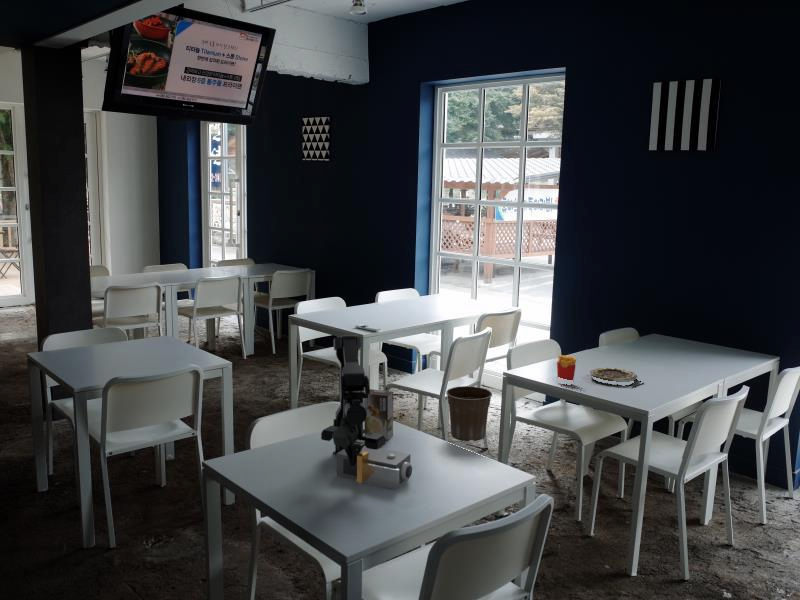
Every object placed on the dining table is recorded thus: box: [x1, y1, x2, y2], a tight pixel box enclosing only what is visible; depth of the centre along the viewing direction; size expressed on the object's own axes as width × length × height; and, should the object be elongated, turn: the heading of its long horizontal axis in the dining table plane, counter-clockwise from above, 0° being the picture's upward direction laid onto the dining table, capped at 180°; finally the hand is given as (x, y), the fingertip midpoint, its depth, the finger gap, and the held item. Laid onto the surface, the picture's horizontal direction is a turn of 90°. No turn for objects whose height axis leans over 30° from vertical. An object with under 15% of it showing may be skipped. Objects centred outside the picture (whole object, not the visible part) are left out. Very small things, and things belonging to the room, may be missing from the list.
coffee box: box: [363, 388, 394, 441], centre depth 251 cm, size 9×6×16 cm
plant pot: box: [446, 385, 493, 442], centre depth 253 cm, size 16×16×16 cm
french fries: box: [556, 354, 577, 381], centre depth 327 cm, size 9×4×13 cm, turn 43°
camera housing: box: [335, 446, 413, 486], centre depth 215 cm, size 22×10×8 cm, turn 65°
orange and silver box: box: [356, 452, 400, 491], centre depth 206 cm, size 11×5×10 cm, turn 65°
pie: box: [589, 367, 638, 382], centre depth 335 cm, size 28×27×5 cm
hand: (352, 465), depth 208 cm, fingers closed
